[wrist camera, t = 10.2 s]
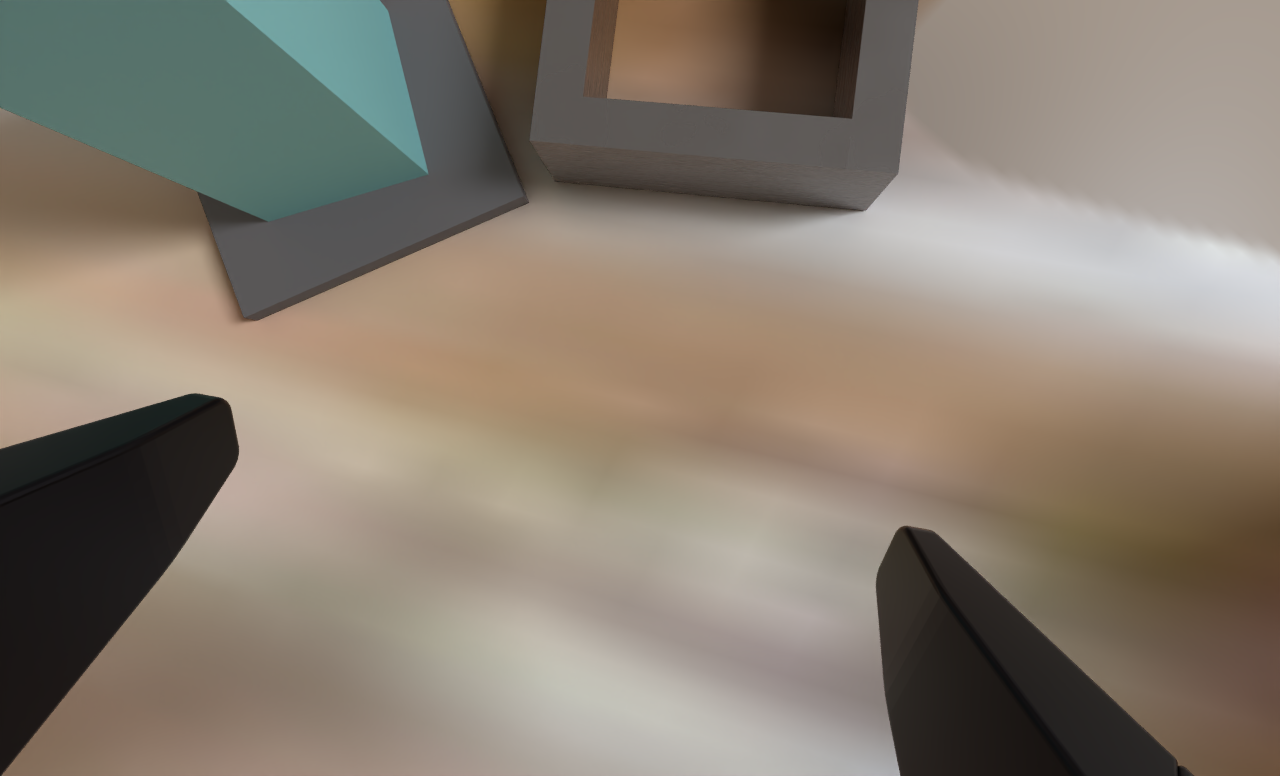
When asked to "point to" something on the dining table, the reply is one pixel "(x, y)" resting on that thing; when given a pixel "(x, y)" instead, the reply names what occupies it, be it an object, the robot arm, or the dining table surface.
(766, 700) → the dining table surface
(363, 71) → the teal block
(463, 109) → the dark grey pad
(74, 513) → the robot arm
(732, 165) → the grey holder
